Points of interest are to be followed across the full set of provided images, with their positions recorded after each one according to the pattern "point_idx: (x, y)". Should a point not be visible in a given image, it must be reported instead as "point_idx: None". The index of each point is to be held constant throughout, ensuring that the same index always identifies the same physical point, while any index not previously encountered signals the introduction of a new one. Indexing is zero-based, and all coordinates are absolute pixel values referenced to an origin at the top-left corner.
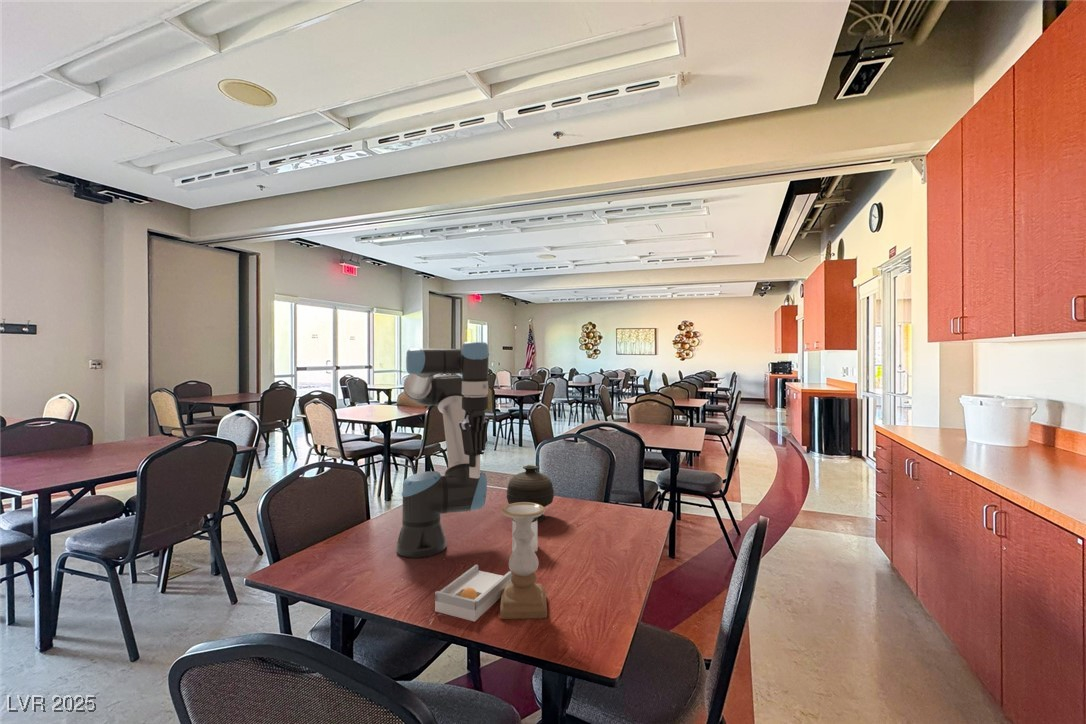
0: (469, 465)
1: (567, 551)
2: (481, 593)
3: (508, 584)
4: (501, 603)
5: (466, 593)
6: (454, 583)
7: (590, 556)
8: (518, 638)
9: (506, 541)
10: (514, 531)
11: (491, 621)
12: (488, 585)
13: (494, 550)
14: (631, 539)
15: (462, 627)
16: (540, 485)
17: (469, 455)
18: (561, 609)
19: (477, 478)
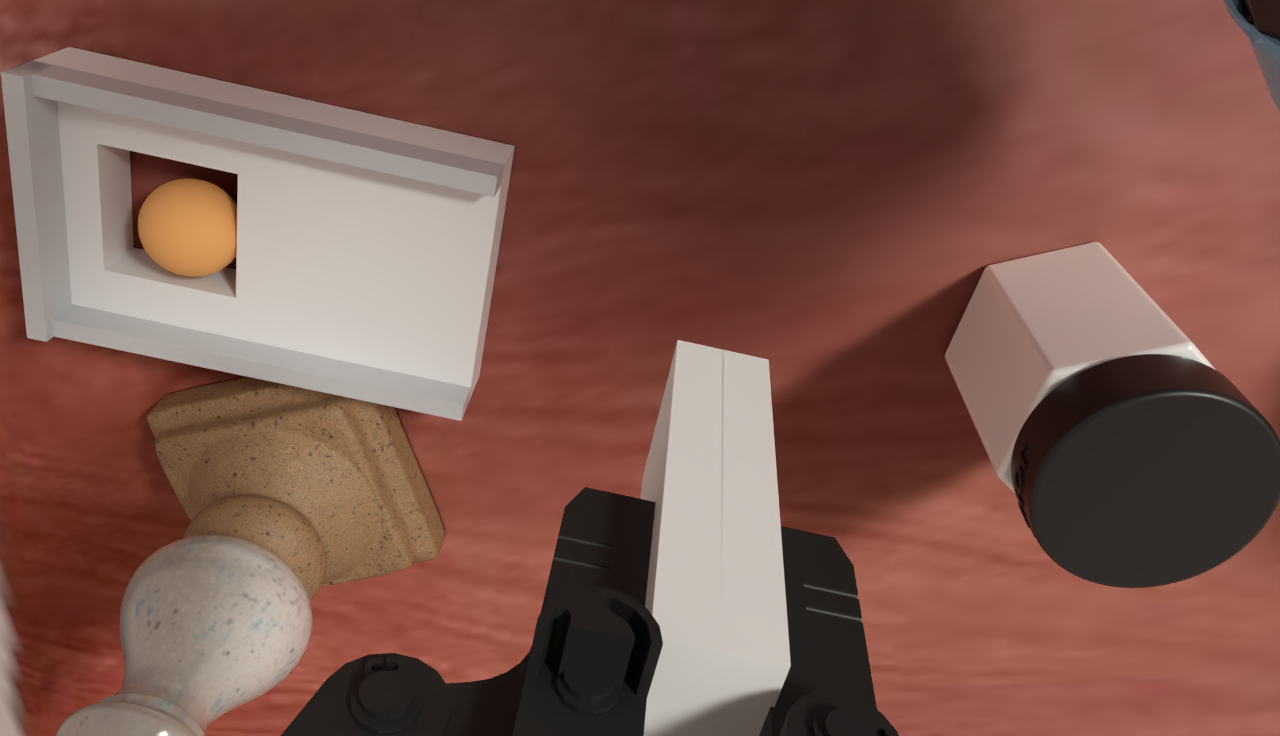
0: (565, 509)
1: (1011, 574)
2: (238, 291)
3: (337, 424)
4: (206, 406)
5: (141, 238)
6: (197, 130)
7: (943, 680)
8: (66, 495)
9: (1203, 169)
10: (1018, 352)
11: (126, 364)
12: (329, 306)
13: (1009, 126)
14: None
15: (15, 251)
16: None
17: (506, 686)
18: (348, 610)
19: (644, 475)
